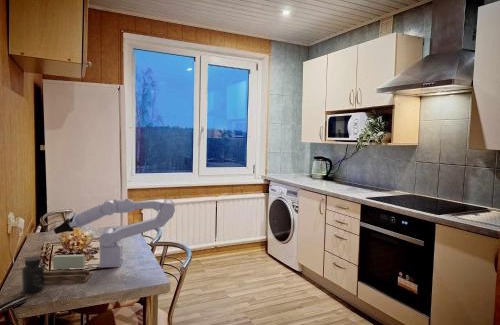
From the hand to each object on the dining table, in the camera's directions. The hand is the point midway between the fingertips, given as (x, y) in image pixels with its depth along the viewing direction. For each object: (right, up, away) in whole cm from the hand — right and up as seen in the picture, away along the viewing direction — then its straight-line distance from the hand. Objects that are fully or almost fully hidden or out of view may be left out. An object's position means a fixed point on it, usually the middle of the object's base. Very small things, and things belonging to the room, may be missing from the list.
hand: (58, 229), depth 148 cm
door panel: (+5, -17, 0) cm, 18 cm away
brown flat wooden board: (+9, -18, -11) cm, 22 cm away
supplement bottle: (+2, -19, -21) cm, 28 cm away
